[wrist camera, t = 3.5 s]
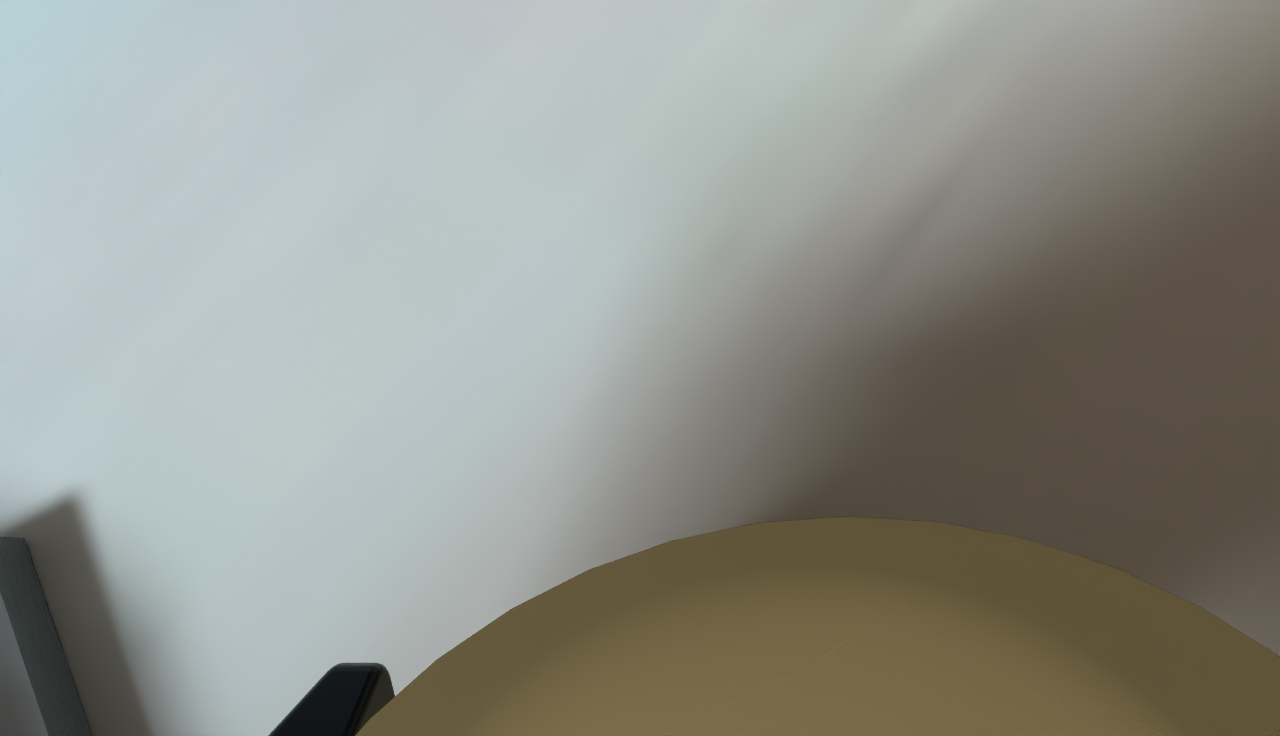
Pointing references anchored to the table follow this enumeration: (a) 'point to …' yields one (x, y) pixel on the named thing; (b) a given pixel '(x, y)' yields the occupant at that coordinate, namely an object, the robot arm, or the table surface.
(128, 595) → the table surface
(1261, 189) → the table surface
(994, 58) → the table surface
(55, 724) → the grey piece
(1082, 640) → the gold capped bottle
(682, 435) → the table surface
